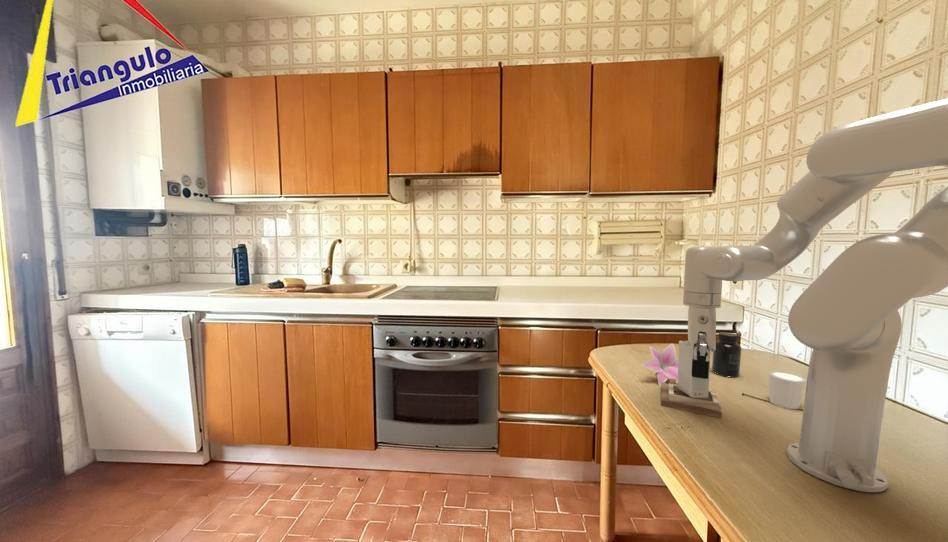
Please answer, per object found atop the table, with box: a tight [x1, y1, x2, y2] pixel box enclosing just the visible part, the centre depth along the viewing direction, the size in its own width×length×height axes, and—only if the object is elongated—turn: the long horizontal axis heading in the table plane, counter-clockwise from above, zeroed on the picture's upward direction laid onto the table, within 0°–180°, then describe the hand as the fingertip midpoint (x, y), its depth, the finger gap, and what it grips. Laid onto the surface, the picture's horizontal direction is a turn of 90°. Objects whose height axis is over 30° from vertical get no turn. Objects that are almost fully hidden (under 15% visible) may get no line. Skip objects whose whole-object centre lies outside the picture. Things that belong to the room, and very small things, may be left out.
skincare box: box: [676, 340, 711, 398], centre depth 88 cm, size 6×4×12 cm
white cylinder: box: [769, 371, 807, 410], centre depth 90 cm, size 7×7×7 cm
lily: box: [641, 343, 678, 387], centre depth 103 cm, size 12×12×10 cm
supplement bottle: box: [711, 331, 742, 378], centre depth 109 cm, size 7×7×12 cm
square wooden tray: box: [660, 378, 723, 419], centre depth 90 cm, size 12×12×3 cm
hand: (697, 371), depth 87 cm, fingers open, 9 cm apart
